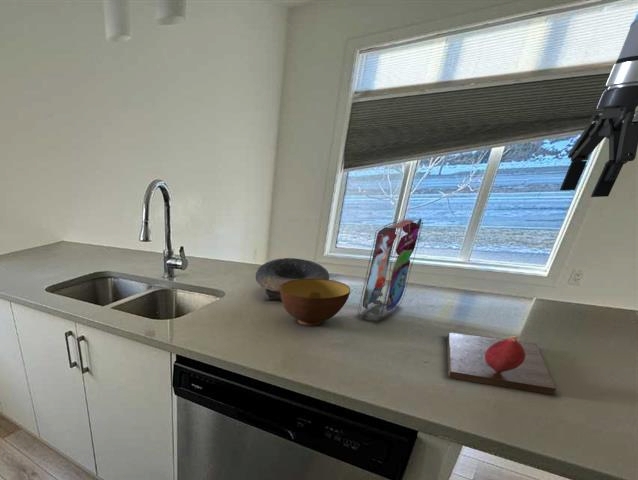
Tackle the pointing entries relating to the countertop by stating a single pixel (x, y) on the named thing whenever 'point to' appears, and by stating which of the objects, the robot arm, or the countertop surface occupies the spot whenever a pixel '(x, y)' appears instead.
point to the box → (382, 261)
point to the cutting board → (472, 366)
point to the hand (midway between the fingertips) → (582, 193)
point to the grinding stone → (287, 274)
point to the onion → (505, 355)
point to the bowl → (313, 299)
